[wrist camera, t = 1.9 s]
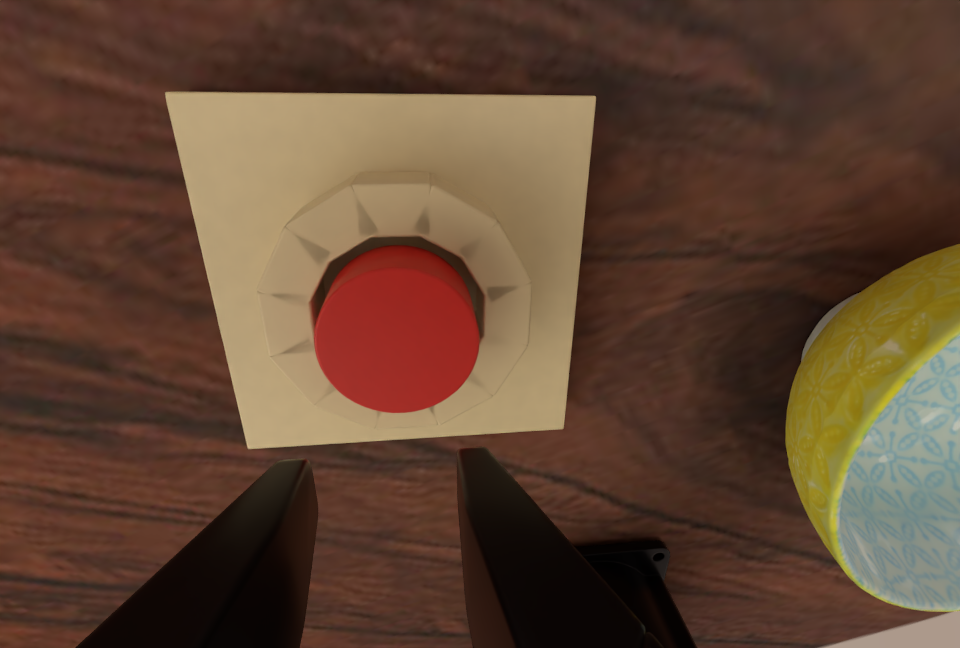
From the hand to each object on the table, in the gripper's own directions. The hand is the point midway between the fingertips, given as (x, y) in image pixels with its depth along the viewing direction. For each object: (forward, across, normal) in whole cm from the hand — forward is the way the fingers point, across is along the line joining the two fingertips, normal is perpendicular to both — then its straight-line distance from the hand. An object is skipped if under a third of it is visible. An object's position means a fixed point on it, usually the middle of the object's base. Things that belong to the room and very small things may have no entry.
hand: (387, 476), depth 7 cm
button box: (+8, 0, 0) cm, 8 cm away
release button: (+6, 0, 0) cm, 6 cm away
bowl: (+9, -16, +3) cm, 18 cm away
